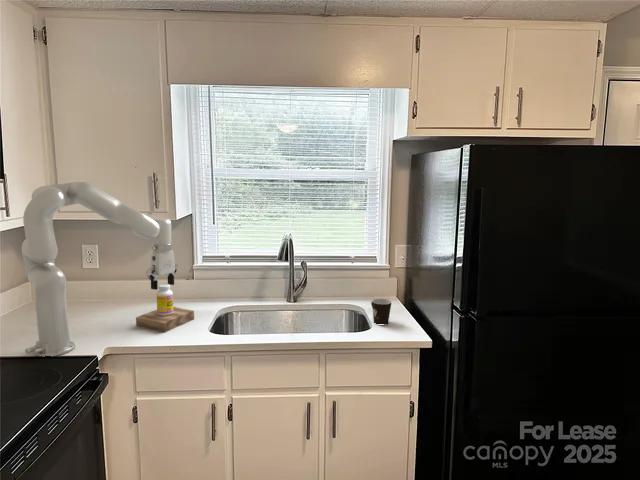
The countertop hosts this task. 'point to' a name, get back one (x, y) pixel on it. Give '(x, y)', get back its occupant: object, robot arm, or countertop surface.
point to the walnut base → (164, 319)
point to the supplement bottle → (164, 300)
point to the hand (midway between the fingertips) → (162, 286)
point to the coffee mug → (381, 310)
